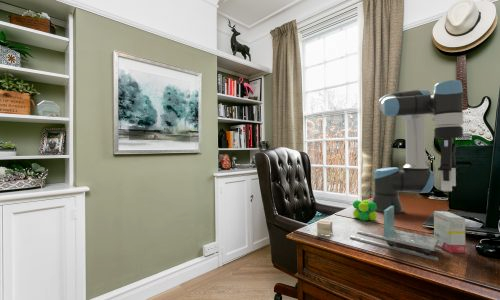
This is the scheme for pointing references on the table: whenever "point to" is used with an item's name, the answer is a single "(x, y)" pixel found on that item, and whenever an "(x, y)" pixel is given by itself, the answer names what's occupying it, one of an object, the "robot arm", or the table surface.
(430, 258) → the track
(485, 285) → the table surface
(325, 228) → the beech block
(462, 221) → the ink box
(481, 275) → the table surface
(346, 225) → the table surface
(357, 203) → the molecule model
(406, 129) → the robot arm
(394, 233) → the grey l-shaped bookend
